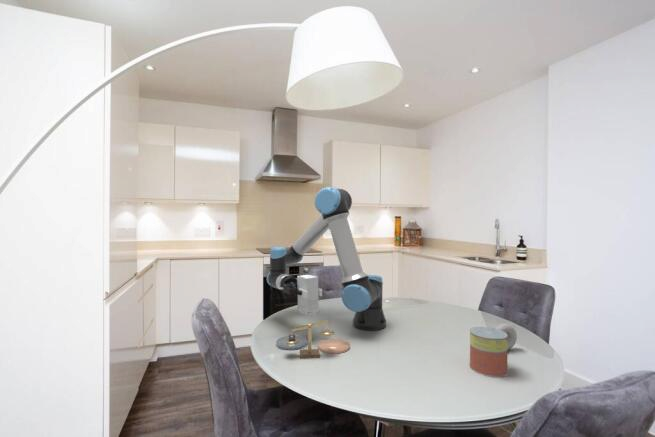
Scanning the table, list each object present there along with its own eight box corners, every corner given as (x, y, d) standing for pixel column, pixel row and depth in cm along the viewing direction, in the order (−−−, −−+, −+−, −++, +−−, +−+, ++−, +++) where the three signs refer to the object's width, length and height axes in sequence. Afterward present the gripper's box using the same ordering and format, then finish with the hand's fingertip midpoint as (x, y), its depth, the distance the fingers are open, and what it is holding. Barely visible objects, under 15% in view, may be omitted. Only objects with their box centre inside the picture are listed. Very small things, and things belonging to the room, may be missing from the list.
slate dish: (306, 337, 137) (306, 335, 137) (307, 349, 125) (307, 346, 125) (276, 338, 136) (276, 335, 136) (275, 350, 124) (275, 347, 124)
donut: (496, 353, 122) (496, 326, 122) (489, 349, 125) (490, 323, 125) (519, 350, 125) (519, 323, 125) (511, 347, 128) (511, 321, 128)
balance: (333, 351, 123) (333, 318, 123) (334, 357, 118) (335, 322, 118) (284, 353, 121) (285, 319, 121) (284, 359, 116) (284, 323, 116)
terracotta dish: (346, 340, 134) (346, 338, 134) (351, 353, 122) (351, 349, 122) (316, 341, 132) (316, 338, 132) (319, 354, 121) (319, 351, 121)
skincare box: (319, 313, 134) (319, 276, 134) (305, 315, 131) (306, 278, 131) (308, 308, 141) (309, 273, 141) (296, 310, 138) (296, 274, 138)
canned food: (516, 374, 106) (516, 336, 106) (486, 379, 103) (487, 340, 102) (489, 359, 117) (489, 325, 116) (462, 363, 113) (462, 328, 113)
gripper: (305, 289, 156) (333, 300, 137) (267, 294, 145) (293, 306, 126) (305, 273, 156) (333, 281, 137) (268, 277, 145) (293, 287, 126)
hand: (314, 293), depth 132 cm, fingers closed on skincare box, 6 cm apart
